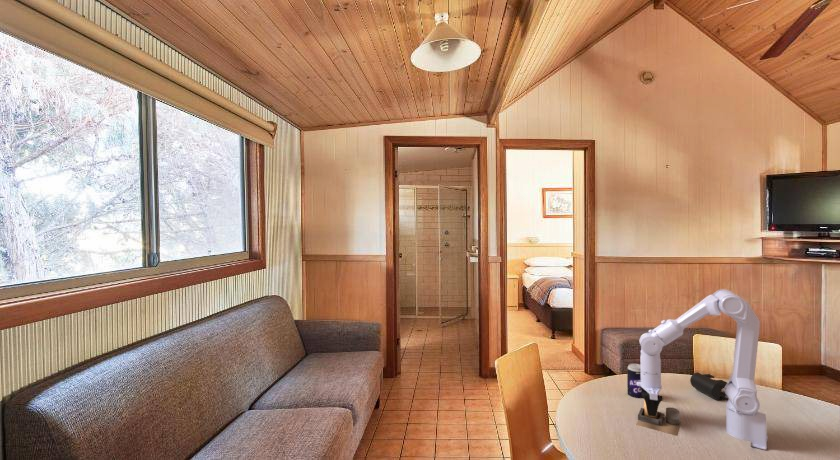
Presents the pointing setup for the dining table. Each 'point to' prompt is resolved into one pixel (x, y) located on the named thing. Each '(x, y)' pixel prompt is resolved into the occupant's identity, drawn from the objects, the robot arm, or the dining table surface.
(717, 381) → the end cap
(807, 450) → the dining table surface
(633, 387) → the beverage can
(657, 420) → the housing
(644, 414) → the orange capsule
